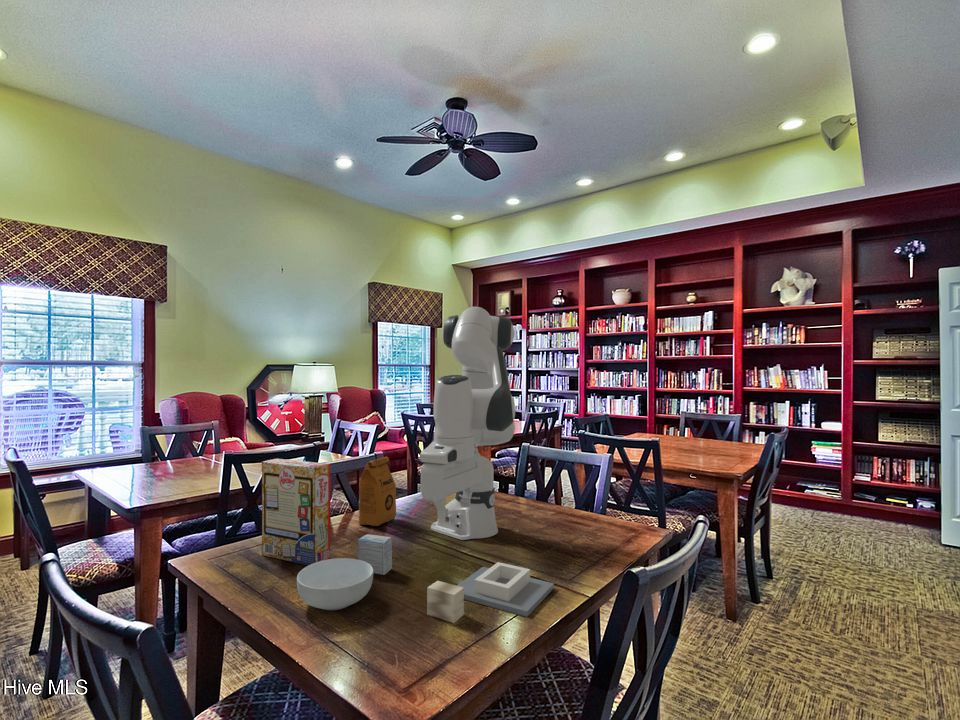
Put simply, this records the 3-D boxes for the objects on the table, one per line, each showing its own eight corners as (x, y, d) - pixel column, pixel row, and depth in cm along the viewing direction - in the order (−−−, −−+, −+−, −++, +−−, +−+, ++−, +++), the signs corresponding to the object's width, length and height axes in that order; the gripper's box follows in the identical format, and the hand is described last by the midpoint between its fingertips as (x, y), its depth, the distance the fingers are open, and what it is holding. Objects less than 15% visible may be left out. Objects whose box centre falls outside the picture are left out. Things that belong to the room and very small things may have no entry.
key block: (427, 614, 110) (427, 587, 110) (437, 607, 114) (437, 580, 114) (453, 623, 107) (454, 594, 107) (463, 615, 110) (463, 587, 110)
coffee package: (400, 519, 176) (401, 456, 176) (377, 529, 165) (377, 463, 165) (378, 515, 181) (379, 454, 181) (354, 525, 170) (354, 460, 170)
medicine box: (392, 569, 134) (392, 536, 134) (383, 576, 130) (384, 542, 130) (366, 565, 137) (366, 533, 137) (357, 571, 132) (357, 538, 132)
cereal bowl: (299, 627, 105) (299, 593, 105) (294, 593, 120) (294, 564, 120) (380, 611, 111) (380, 580, 111) (365, 581, 127) (366, 553, 127)
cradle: (450, 595, 119) (450, 577, 119) (482, 571, 133) (482, 555, 133) (527, 616, 109) (527, 597, 109) (553, 588, 123) (553, 571, 123)
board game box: (331, 560, 140) (331, 463, 140) (315, 568, 134) (315, 467, 134) (277, 548, 148) (277, 457, 148) (259, 556, 143) (260, 461, 143)
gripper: (465, 441, 121) (466, 499, 121) (415, 455, 103) (415, 522, 103) (488, 443, 118) (489, 502, 118) (440, 457, 100) (441, 526, 100)
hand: (454, 511), depth 110 cm, fingers open, 8 cm apart
